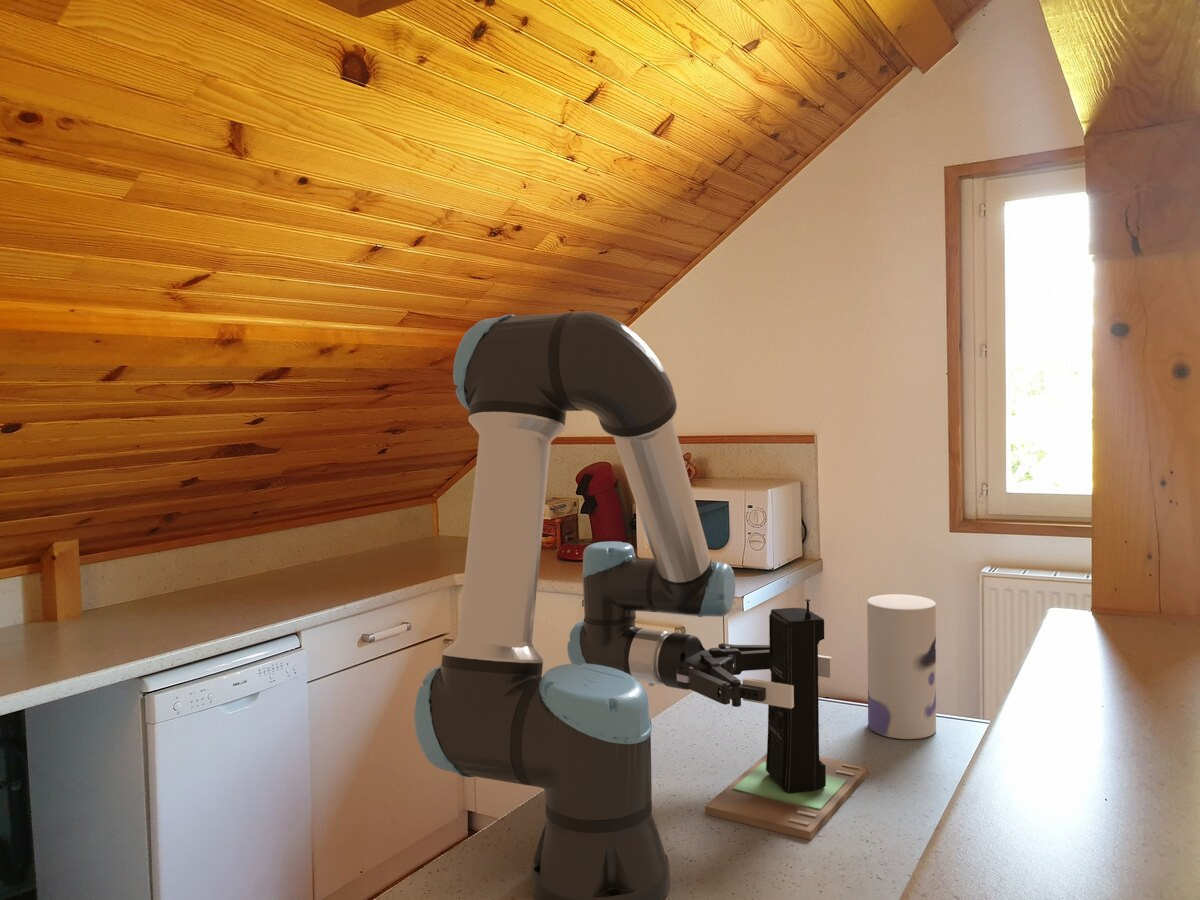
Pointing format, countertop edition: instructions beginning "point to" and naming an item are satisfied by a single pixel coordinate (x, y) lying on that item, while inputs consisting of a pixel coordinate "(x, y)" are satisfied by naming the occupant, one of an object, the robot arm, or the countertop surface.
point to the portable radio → (795, 700)
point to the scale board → (786, 799)
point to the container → (901, 666)
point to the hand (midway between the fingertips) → (813, 681)
